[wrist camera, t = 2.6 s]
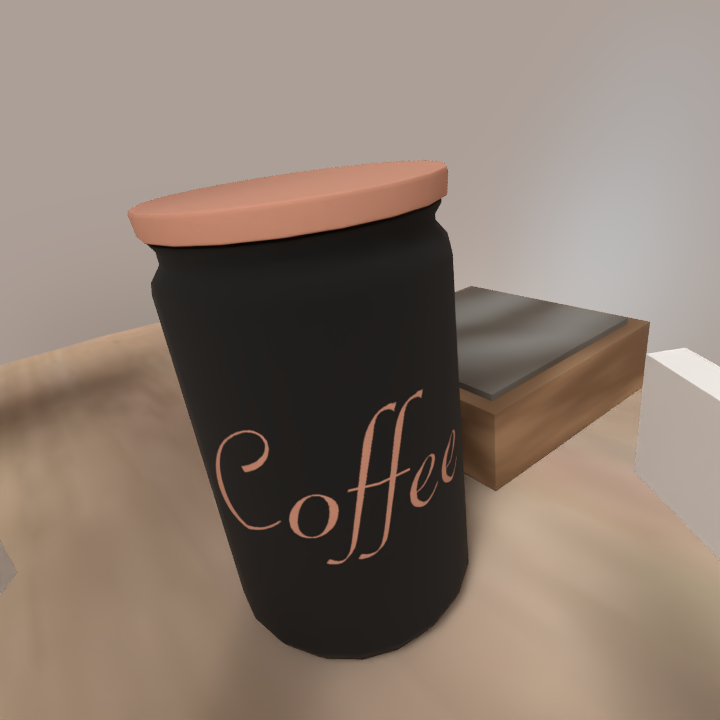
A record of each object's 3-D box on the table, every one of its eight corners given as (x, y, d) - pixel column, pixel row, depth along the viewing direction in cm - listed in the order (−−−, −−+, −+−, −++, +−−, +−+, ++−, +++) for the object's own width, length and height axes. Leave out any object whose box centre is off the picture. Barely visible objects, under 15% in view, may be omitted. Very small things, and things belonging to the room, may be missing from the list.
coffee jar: (228, 692, 20) (58, 231, 12) (264, 508, 30) (180, 188, 22) (498, 658, 20) (489, 171, 12) (444, 484, 29) (421, 154, 22)
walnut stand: (337, 399, 41) (326, 337, 38) (473, 336, 49) (471, 281, 46) (495, 491, 28) (494, 408, 26) (642, 386, 36) (650, 316, 34)
